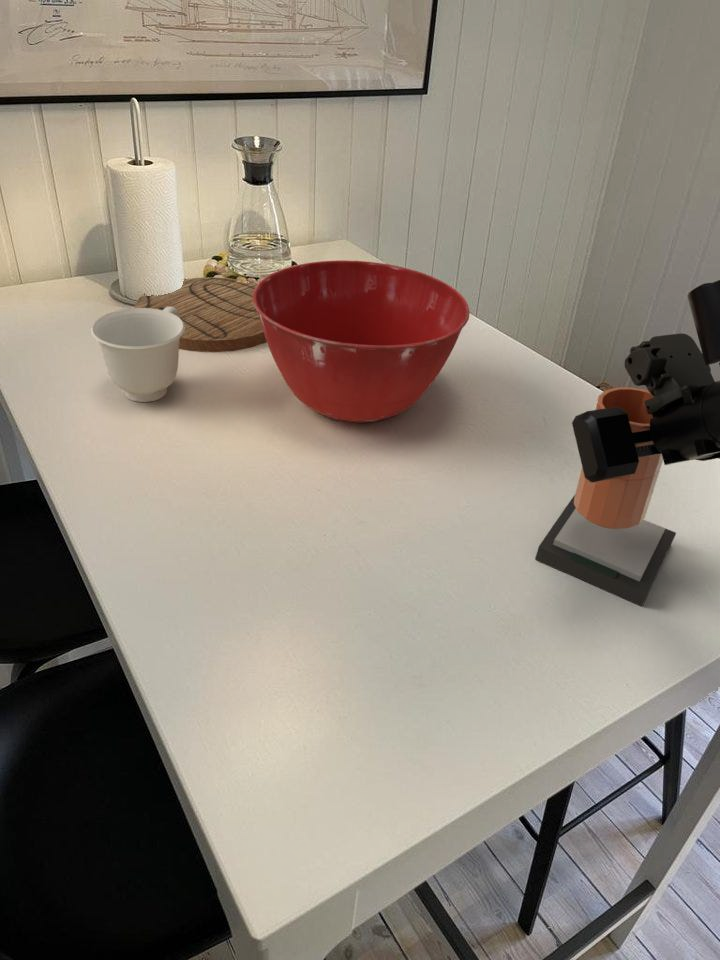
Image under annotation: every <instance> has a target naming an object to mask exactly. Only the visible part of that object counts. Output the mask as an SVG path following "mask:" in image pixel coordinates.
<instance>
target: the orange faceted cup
mask: <svg viewBox="0 0 720 960" xmlns="http://www.w3.org/2000/svg"><path fill="white" fill-rule="evenodd" d="M653 397H654V396H653V395H652V394H651V393H650V392H649V391H648V389H643V388H638V387H632V386H631V387H630V386H626V387H625V386H623V387H620V386H619V387H617V386H616V387H614V388H609V389H606V390H604V391H602V392H601V394H599V395H598V397H597V401H596V404H595V405H596V406H595V409H594V410H598V409H605V408H611V407H618V406H619V407H620V408H621V409H622V410H624V411H625V412H626V413H627V414H628V418H629V422H630V426H631V430H632V433H634V432H640V431H646V430H650V419H651V418H652V414H647V410H646V406H645V402H644V401H646V400H648V399H651V398H653ZM652 444H654V443H653V442H649V443H643V444H638V445H635V447H640V446H646V445H652ZM638 459H639V464H638V466H637V469H636V472H635V474H631V475H628V476H623V477H619V478H614V479H609V480H603V481H598V482H593V483H591V482H590V481H589V480H587V479H586V478H585V476H584V472H583V468H582V467H581V468H580V472H579V477H578V480H577V484H576V490H575V493H574V495H575V498H574V505H575V507H576V509H577V511H578V512H579V513H580V514H581V515H582V516H583V517H584V518H585V519H587V520H589V521H590V522H592V523H594V524H596V525H598V526H601V527H604V528H609V529H625V528H630V527H633V526H636V525H638V524H640V523H641V522H642V520H645V518H646V515H647V512H648V509H649V507H650V503H651V500H652V496H653V493H654V491H655V486H656V483H657V481H658V477H659V475H660V471H661V468H662V464H663V463H664V461H663V457H662V454H659V455H654V456H648V457H642V458H638Z"/></svg>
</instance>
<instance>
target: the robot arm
mask: <svg viewBox="0 0 720 960" xmlns="http://www.w3.org/2000/svg"><path fill="white" fill-rule="evenodd" d="M687 300H688V302H689V307H690V312H691V315H692V319H693V323H694V327H695V332H696V335H697V338H698V342H699V346H700V348H699V346H698V345H697V343H696V341H695V340H694V339H693V337H691V336H690V335H688V334H686V333H672V334H663V335H655V336H652V337H651V338H650V339H649V340H645V341H644V340H643V341H641V343H640V344H639V345H636V346H631V348H630V349H629V354H628V355H627V357H626V358H624V359H625V360H624V368H625V370H626V372H627V374H628V376H629V378H630V379H631V382H632V383H633V384H634V386H637V387H640V386H645V387H646V390H648V391H649V392H650V393H651V394H652V395H653V396H654V397H653V398H651V399H648V400H646V401H644V402H645V406H646V410H647V414H652V418H651V419H650V430H646V431H640V432H634V433H632V430H631V426H630V422H629V418H628V414H627V413H626V412H625V411H624V410H622V409H621V408H620V407H619V406H618V407H611V408H605V409H598V410H595V409H593V410H586V411H585V412H582V413H580V414H578V415H575V416H574V419H573V420H572V421H571V425H572V426H571V427H572V430H573V434H574V437H575V443H576V446H577V450H578V455H579V459H580V463H581V468H583V472H584V476H585V478H586V479H587V480H589V481H590V482H591V483H593V482H598V481H603V480H609V479H614V478H619V477H623V476H628V475H631V474H635V472H636V469H637V466H638V464H639V459H638V458H642V457H648V456H654V455H659V454H662V457H663V464H664V466H668V465H672V464H678V463H683V462H689V461H700V462H705V461H710V460H715V459H716V460H717V459H720V380H717V381H715V379H714V377H713V375H712V373H711V372H712V368H711V366H710V365H714V364H716V363H718V365H719V366H720V279H718V280H716V281H713V282H706V283H702V284H700V285H698V286H696V287H695V288H693V289H692V290H690V291H689V292H688V294H687ZM649 442H653V443H654V444H652V445H646V446H640V447H635V445H638V444H643V443H649Z"/></svg>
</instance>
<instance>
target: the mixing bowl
mask: <svg viewBox="0 0 720 960" xmlns="http://www.w3.org/2000/svg"><path fill="white" fill-rule="evenodd" d="M257 284H258V285H257V286H256V288H255V290H254V292H253V303H254V305H255V308H256V309H257V311H258V314H259V318H260V321H261V325H262V328H263V332H264V335H265V338H266V341H267V342H266V344H267V346H268V348H269V351H270V354H271V356H272V359H273V361H274V362H275V365H276V367H277V369H278V371H279V372H280V375H281V376H282V378H283V381H284V382H285V383H286V385H287V386H288V388H289V389H290V391H291V393H292V394H293V395H294V396H295V397H296V398H297V400H299V401H300V402H301V403H302V404H304V405H305V406H307V407H308V408H309V409H311V410H313V411H315V412H316V413H319V414H321V415H322V416H325V417H326V418H329V419H332V420H335V421H339V422H345V423H355V424H359V423H360V424H362V423H363V424H365V423H366V424H367V423H373V422H379V421H382V420H384V419H387V418H390V417H391V418H392V417H394V416H396V415H398V414H401V413H403V412H404V411H407V409H409V408H410V407H412V406H414V405H415V403H417V402H418V401H419V399H420V398H421V397H422V396H423V395H424V394H425V392H426V391H427V390H428V389H429V388H430V387H431V385H432V384H433V382H434V381H435V380H436V378H437V377H438V376H439V374H440V372H441V371H442V369H443V367H444V366H445V365H446V363H447V362H448V359H449V357H450V355H451V353H452V351H453V349H454V348H455V346H456V344H457V341H458V339H459V338H460V337H459V336H460V334H461V332H462V330H463V328H464V327H465V326H467V325H466V324H467V323H468V321H469V320H470V307H469V305H468V303H467V301H466V299H465V297H464V296H463V295H462V294H461V293H460V292H459V291H458V290H456V289H455V288H454V287H452V286H451V285H449V284H448V283H446V282H444V281H442V280H441V279H439V278H437V277H434V276H431V275H429V274H426V273H424V272H421V271H418V270H415V269H411V268H407V267H402V266H398V265H394V264H389V263H381V262H374V261H366V260H365V261H364V260H346V259H345V260H344V259H343V260H342V259H340V260H339V259H338V260H321V261H313V262H306V263H302V264H296V265H292V266H288V267H285V268H281V269H279V270H277V271H275V272H273V273H270V274H269V275H267V276H265V277H264V278H263V279H261V281H259V283H257Z"/></svg>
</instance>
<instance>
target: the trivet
mask: <svg viewBox="0 0 720 960" xmlns="http://www.w3.org/2000/svg"><path fill="white" fill-rule="evenodd" d="M183 280H184V281H183V285H182V287H181V288H180V289H178V290H176V291H174V292H172V293H168V294H164V295H158V296H157V295H156V296H154V295H151V296H147V295H146V296H145V295H144V296H143V294H142V295H141V296H140V297H138V299H137V301H136V303H135V304H134V308H151V309H158V310H164V309H165V308H166V307H174V308H175V309H177V311H178V313H179V317H180V319H181V320H182V321H183V323H184V325H185V330H184V332H183V334H182V335H181V336H180V341H179V350H185V351H186V350H187V351H189V352H210V353H214V352H216V353H217V352H231V351H238V350H243V349H247V348H253V347H255V346H259V345H261V344H264V343H267V341H266V338H265V335H264V332H263V328H262V325H261V321H260V318H259V314H258V311H257V309H256V308H255V305H254V303H253V292H254V290H255V288H256V286H257V285H258V284H259V283H255V282H253V281H249V283H248V282H247V283H241V282H236V281H237V280H238V279H237V278H230V277H213V276H211V277H209V276H208V277H193V278H184V279H183Z"/></svg>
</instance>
